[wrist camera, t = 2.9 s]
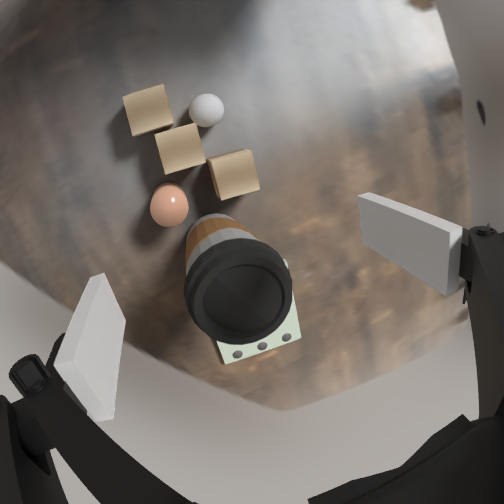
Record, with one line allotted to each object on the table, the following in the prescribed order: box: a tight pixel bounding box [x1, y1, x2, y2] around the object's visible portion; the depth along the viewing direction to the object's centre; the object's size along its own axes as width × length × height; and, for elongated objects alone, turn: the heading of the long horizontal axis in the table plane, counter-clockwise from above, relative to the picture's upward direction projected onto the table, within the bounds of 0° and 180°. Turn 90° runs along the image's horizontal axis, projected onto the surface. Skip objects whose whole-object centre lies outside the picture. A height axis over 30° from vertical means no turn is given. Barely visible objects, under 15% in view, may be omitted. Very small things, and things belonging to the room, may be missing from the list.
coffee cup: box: [184, 213, 292, 345], centre depth 30 cm, size 8×8×15 cm
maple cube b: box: [154, 123, 206, 175], centre depth 30 cm, size 4×4×4 cm
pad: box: [216, 259, 301, 364], centre depth 41 cm, size 12×11×1 cm
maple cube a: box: [123, 84, 174, 136], centre depth 28 cm, size 4×4×4 cm
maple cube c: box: [207, 149, 260, 200], centre depth 33 cm, size 4×4×4 cm
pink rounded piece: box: [150, 182, 188, 227], centre depth 31 cm, size 4×4×5 cm
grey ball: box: [189, 94, 224, 127], centre depth 30 cm, size 4×4×4 cm
